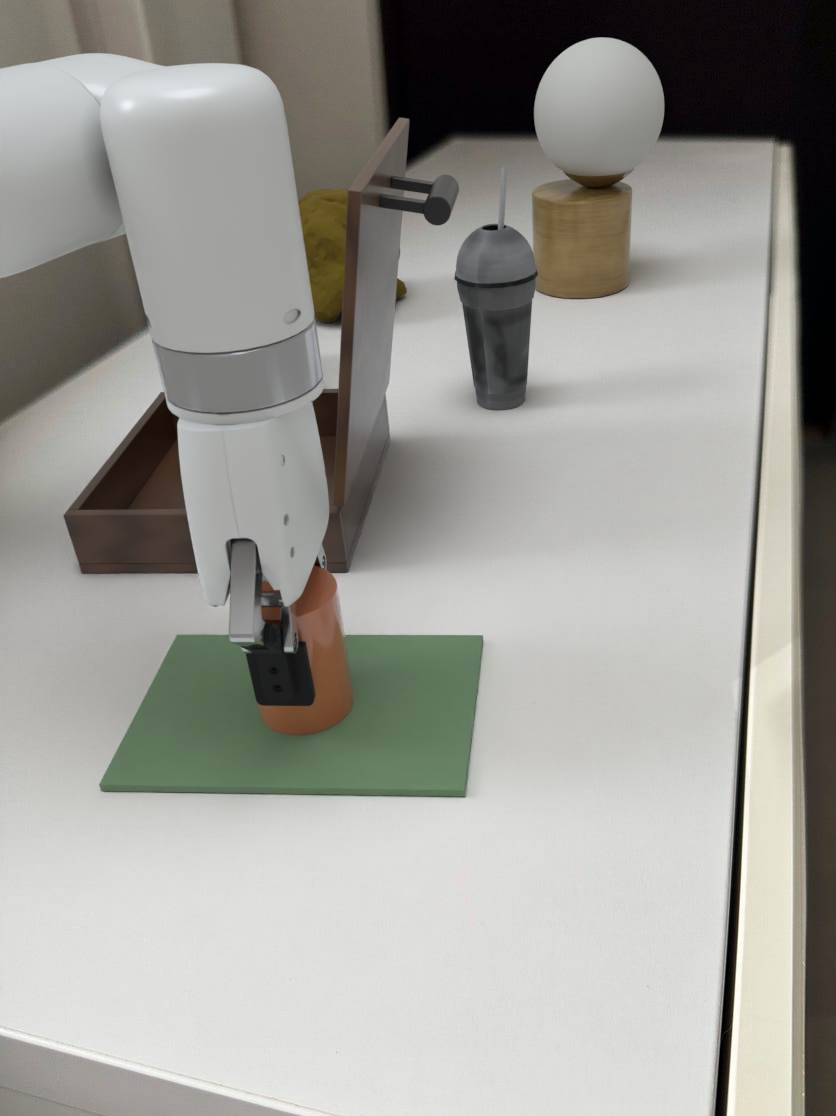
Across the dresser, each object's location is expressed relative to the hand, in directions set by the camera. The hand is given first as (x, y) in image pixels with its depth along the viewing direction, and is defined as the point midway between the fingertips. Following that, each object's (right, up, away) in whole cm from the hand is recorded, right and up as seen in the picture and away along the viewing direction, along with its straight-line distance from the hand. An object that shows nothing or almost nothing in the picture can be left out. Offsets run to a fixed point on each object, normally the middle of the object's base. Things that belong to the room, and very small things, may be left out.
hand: (298, 664), depth 60 cm
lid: (+2, +25, +14) cm, 29 cm away
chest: (-8, +13, +24) cm, 28 cm away
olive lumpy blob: (-6, +40, +61) cm, 73 cm away
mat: (0, -3, +2) cm, 3 cm away
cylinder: (0, -2, +2) cm, 3 cm away
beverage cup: (+12, +24, +38) cm, 46 cm away
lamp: (+24, +44, +65) cm, 82 cm away
